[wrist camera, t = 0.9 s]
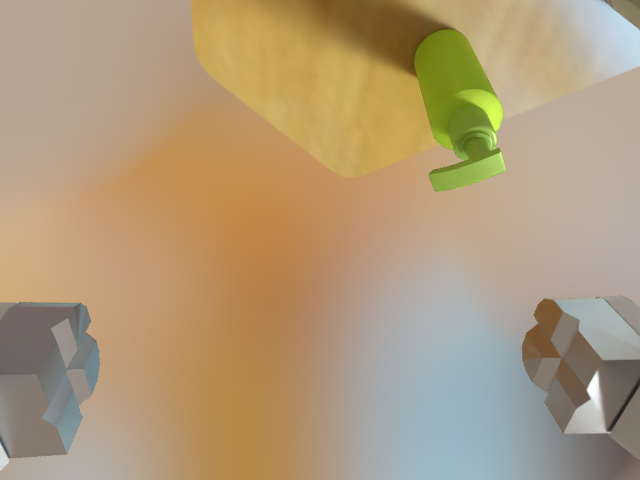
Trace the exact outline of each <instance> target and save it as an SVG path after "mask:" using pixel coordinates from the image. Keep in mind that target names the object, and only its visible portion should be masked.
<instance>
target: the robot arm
mask: <svg viewBox="0 0 640 480" xmlns="http://www.w3.org/2000/svg"><path fill="white" fill-rule="evenodd" d="M534 317H535V319H536V321H537V323H538V324H537V325H536V326H534V327H533V328H532V329H531V330H529V331H528V332H527V333H526V336H525V339H524V342H523V345H522V359H523V363H524V366H525V370H526V372H527V374H528V375H529V377H530V379H531V381H532V382H533V383H534V384H536V385H537V386H539V387H540V388H542V389H543V390H545V391H546V395H545V401H544V402H545V404H546V406H547V407H548V409H549V411H550V412H551V414H552V416H553V417H554V419H555V421H556V422H557V424H558V426H559V427H560V429H561V430H562V432H563V433H567V434H569V433H610V434H609V436H610V437H611V438H613V439H614V440H615V441H616V442H617V443H619V444H620V445H621V446H622V447H624V448H625V449H626V450H627V451H629V452H630V453H631V454H632V455H633V456H635V457H636V458H637V459H638V460H639V461H640V308H639V307H638V306H637V305H636V304H635V303H634V302H633V301H632V300H630V299H627V298H625V297H623V296H614V297H595V298H548V299H543V300H542V301H541V302H540V303H539V304H538V306H537V308H536V311H535V313H534ZM90 323H91V320H90V316H89V313H88V310H87V307H86V306H85V305H83V304H81V303H32V302H19V303H0V470H1V469H2V468H3V467H4V466H5V465H6V464H7V463H9V458H22V457H36V456H51V455H65V454H68V451H69V449H70V446H71V444H72V442H73V439H74V437H75V434H76V432H77V430H78V427H79V425H80V422H81V420H82V415H81V412H80V409H79V405H80V404H81V403H83V402H84V401H85V400H86V399H88V398H89V397H90V396H91V395H92V393H93V390H94V388H95V385H96V382H97V378H98V372H99V366H100V359H99V349H98V345H97V341H96V340H95V339H94V338H92V337H91V336H90V335H89V334H87V333H86V331H87V329H88V327H89V324H90Z"/></svg>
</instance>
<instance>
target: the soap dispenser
mask: <svg viewBox="0 0 640 480" xmlns="http://www.w3.org/2000/svg"><path fill="white" fill-rule="evenodd" d="M414 67H415V70H416V74H417V78H418V82H419V85H420V89H421V93H422V96H423V100H424V104H425V107H426V111H427V115H428V118H429V122H430V126H431V129H432V133H433V136H434V138H435V139H436V141H437V142H438V143H439V144H440V145H442V146H443V147H445V148H447V149H451V150H454V152H455V154H456V155H457V156H458V157H459V158H460V159H462V160H464V161H463V162H460V163H457V164H454V165H451V166H448V167H444V168H439V169H435V170H432V171H431V172H430V174H429V177H430V180H431V182H432V185H433V187H434V190H435V191H436V192H438V191H445V190H451V189H456V188H459V187H463V186H467V185H470V184H473V183H476V182H479V181H482V180H484V179H487V178H489V177H492V176H495V175H497V174H500V173H502V172H505V171H506V170H505V166H504V162H503V158H502V154H501V151H500V149H499V148H497V149H495V147H496V144H497V135H496V131H497V130H498V129H499V127H500V124H501V122H502V116H503V111H502V106H501V103H500V101H499V99H498V98H497V96H496V94H495V92H494V90H493V88H492V86H491V84H490V82H489V80H488V78H487V76H486V74H485V72H484V70H483V68H482V66H481V65H480V63H479V61H478V59H477V57H476V55H475V53H474V51H473V49H472V47H471V45H470V43H469V41H468V40H467V38H466V37H465V36H464V35H463V34H462V33H460V32H458V31H455V30H451V29H444V30H439V31H436V32H434V33H432V34H430V35H429V36H427V37H426V38H425V39H424V40H423V41H422V42H421V43H420V45H419V46H418V48H417V50H416V53H415V57H414Z"/></svg>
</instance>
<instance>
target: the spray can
mask: <svg viewBox="0 0 640 480" xmlns="http://www.w3.org/2000/svg"><path fill="white" fill-rule="evenodd" d="M606 1H607V3H608V4H609V5H610V6H611V7H612V8H613V9H614V10H615V11H617V12H618V13H619V14H620V15H622V16H623V17H624V18H625V19H627V20H628V21H629V22H631V23H632V24H633V25H634V26H636V27H637V28H638V29H639V30H640V0H606Z"/></svg>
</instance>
